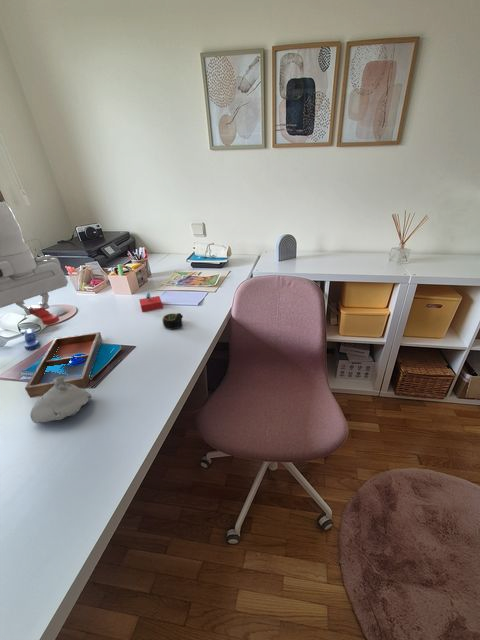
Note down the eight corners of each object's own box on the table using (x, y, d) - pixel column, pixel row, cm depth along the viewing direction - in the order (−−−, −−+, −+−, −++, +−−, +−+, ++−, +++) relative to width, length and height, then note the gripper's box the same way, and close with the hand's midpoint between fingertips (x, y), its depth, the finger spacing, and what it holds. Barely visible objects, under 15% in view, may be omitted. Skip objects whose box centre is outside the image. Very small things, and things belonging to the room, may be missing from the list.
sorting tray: (30, 397, 78) (24, 388, 76) (58, 346, 99) (54, 338, 97) (86, 387, 81) (82, 378, 79) (102, 340, 102) (99, 332, 100)
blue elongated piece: (24, 336, 104) (20, 329, 103) (38, 333, 106) (34, 326, 105) (25, 351, 96) (21, 344, 95) (40, 347, 98) (36, 340, 97)
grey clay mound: (70, 402, 80) (66, 365, 77) (103, 414, 76) (100, 375, 73) (21, 423, 69) (14, 381, 66) (57, 438, 65) (51, 395, 62)
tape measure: (182, 329, 107) (180, 320, 104) (162, 331, 106) (160, 322, 104) (183, 320, 112) (182, 311, 110) (164, 322, 111) (162, 313, 109)
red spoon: (27, 316, 87) (22, 307, 86) (41, 310, 90) (37, 302, 88) (47, 326, 82) (43, 317, 80) (62, 320, 84) (58, 311, 83)
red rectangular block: (142, 312, 119) (138, 297, 115) (140, 305, 124) (136, 291, 121) (163, 308, 121) (159, 293, 118) (160, 302, 127) (157, 287, 123)
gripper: (49, 251, 87) (68, 296, 94) (-38, 272, 73) (-8, 323, 80) (61, 254, 84) (79, 300, 91) (-28, 277, 70) (2, 329, 77)
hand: (38, 311), depth 86 cm, fingers closed on red spoon, 3 cm apart
